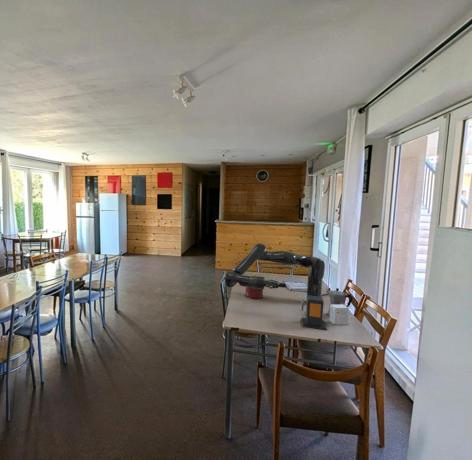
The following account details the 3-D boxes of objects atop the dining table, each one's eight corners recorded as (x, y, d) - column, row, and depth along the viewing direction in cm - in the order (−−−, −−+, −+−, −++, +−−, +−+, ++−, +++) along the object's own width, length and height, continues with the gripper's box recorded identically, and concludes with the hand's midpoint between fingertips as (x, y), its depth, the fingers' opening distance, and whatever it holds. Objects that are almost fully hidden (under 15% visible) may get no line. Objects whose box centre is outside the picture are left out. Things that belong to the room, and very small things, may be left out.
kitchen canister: (256, 300, 212) (257, 276, 211) (241, 296, 222) (242, 273, 220) (266, 296, 221) (267, 274, 219) (251, 292, 230) (252, 270, 229)
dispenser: (301, 318, 179) (303, 293, 178) (323, 322, 175) (325, 296, 173) (302, 326, 168) (304, 299, 166) (326, 330, 164) (327, 302, 162)
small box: (341, 321, 177) (343, 304, 176) (347, 324, 171) (349, 307, 170) (329, 321, 176) (330, 304, 175) (334, 324, 171) (335, 307, 170)
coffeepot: (321, 314, 186) (323, 287, 184) (327, 311, 193) (328, 284, 191) (348, 322, 175) (351, 293, 173) (353, 318, 181) (355, 290, 180)
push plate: (301, 307, 176) (301, 298, 176) (302, 307, 176) (303, 298, 175) (301, 310, 170) (301, 302, 170) (303, 310, 170) (303, 302, 169)
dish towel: (290, 290, 236) (290, 287, 236) (282, 282, 260) (282, 279, 259) (312, 291, 235) (312, 288, 234) (302, 283, 258) (302, 280, 258)
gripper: (255, 279, 175) (286, 282, 169) (257, 274, 187) (286, 277, 181) (255, 291, 176) (285, 294, 169) (257, 285, 188) (285, 288, 182)
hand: (286, 285), depth 175 cm, fingers closed
